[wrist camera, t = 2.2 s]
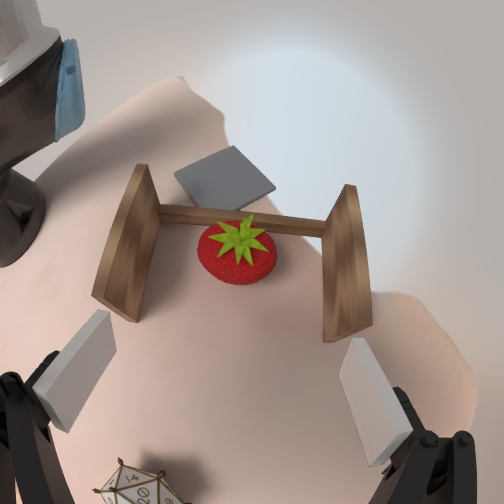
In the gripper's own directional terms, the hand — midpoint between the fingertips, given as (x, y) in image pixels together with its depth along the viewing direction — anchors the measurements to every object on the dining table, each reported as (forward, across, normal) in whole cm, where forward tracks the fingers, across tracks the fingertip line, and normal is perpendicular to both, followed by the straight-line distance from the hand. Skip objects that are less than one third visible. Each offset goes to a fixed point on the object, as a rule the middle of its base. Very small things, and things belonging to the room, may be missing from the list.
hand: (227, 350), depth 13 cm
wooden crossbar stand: (+17, 0, -3) cm, 17 cm away
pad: (+26, -3, +6) cm, 27 cm away
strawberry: (+17, 0, -3) cm, 17 cm away
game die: (-1, -7, -21) cm, 22 cm away
